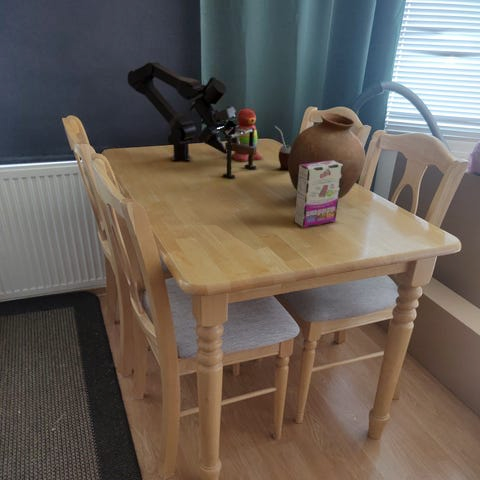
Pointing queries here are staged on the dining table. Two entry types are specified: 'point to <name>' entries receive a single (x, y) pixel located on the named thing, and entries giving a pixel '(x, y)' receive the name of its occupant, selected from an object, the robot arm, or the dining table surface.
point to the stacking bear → (247, 122)
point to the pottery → (329, 149)
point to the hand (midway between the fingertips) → (233, 150)
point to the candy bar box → (317, 193)
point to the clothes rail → (229, 152)
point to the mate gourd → (284, 154)
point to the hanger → (242, 146)
